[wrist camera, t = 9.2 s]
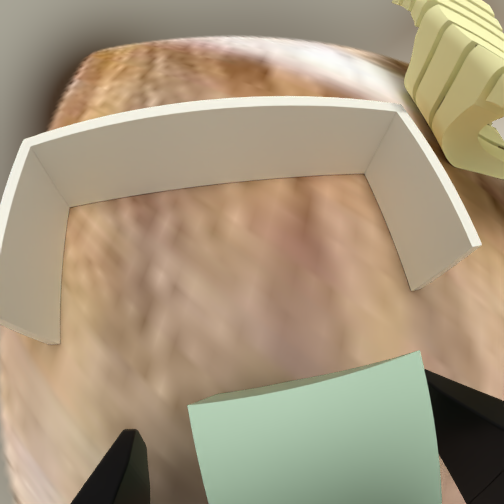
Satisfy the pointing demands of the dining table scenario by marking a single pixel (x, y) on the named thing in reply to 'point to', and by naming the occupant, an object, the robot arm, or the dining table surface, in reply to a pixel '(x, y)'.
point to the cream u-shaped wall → (220, 180)
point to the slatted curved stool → (459, 79)
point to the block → (323, 439)
